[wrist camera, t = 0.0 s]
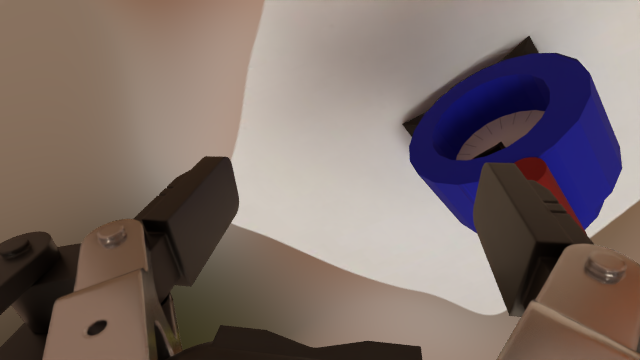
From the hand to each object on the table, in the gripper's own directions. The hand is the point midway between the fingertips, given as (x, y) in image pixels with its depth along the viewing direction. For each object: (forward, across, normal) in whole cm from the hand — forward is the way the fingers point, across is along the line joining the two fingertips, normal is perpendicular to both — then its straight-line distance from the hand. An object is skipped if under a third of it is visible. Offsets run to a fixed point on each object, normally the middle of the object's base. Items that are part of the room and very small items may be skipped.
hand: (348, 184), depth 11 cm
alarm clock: (+22, -12, +7) cm, 26 cm away
